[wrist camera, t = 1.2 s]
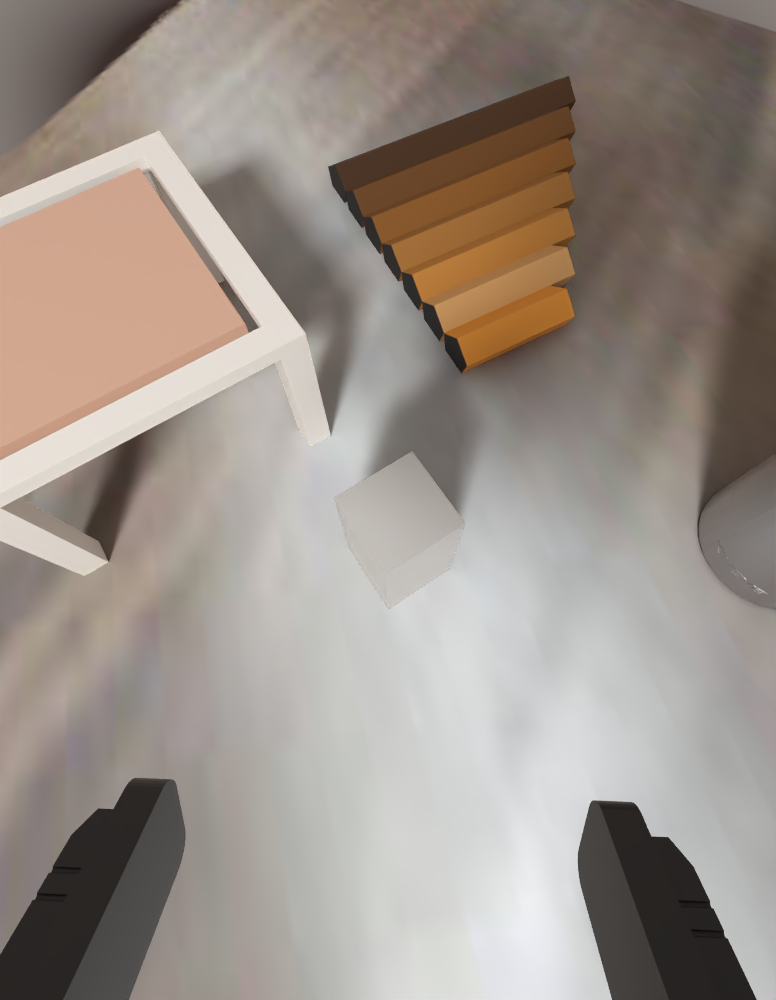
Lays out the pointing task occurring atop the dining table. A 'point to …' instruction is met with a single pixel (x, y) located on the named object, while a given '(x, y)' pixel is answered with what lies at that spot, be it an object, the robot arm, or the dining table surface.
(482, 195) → the pan flute
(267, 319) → the white four-legged frame
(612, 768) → the dining table surface
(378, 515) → the grey upright block
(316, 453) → the dining table surface
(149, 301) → the trapdoor
